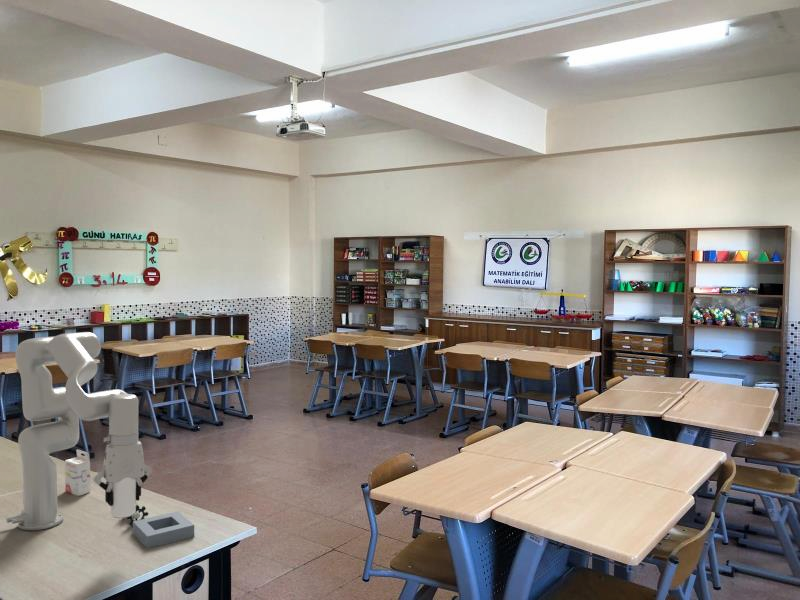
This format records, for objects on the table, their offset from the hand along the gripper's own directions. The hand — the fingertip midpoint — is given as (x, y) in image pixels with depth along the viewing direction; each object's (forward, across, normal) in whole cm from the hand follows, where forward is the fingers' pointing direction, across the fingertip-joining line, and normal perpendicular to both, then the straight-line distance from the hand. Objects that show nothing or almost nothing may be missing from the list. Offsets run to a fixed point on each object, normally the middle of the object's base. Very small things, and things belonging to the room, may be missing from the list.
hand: (123, 501), depth 183 cm
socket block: (+16, +14, +9) cm, 24 cm away
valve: (+17, +10, +26) cm, 33 cm away
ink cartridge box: (+18, +2, +65) cm, 68 cm away
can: (+4, 0, 0) cm, 4 cm away
